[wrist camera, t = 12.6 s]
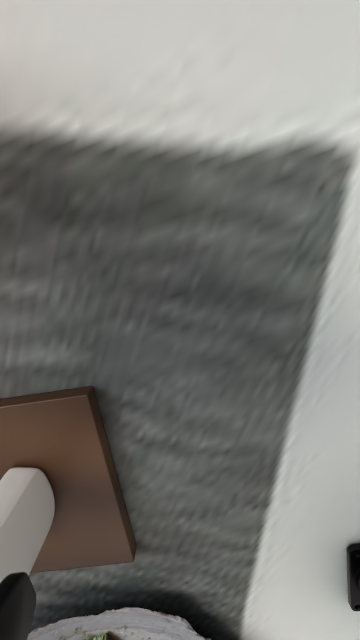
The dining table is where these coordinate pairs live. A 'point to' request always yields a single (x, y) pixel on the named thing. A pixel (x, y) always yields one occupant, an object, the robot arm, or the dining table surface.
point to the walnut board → (69, 476)
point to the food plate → (119, 627)
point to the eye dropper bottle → (23, 518)
